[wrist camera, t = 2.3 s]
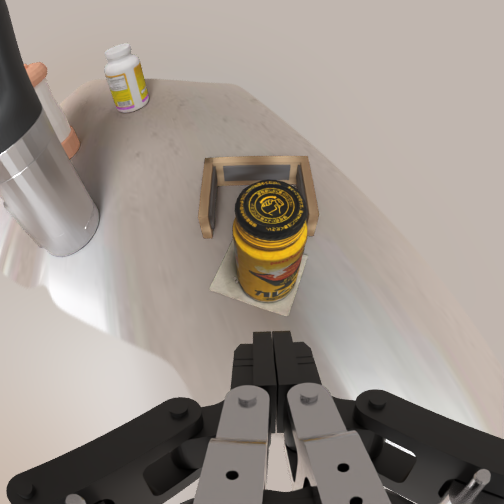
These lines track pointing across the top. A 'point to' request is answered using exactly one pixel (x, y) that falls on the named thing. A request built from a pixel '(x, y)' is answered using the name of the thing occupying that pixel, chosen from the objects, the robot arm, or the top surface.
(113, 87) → the supplement bottle
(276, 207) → the condiment
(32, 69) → the pepper shaker
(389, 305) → the top surface
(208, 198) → the light wood low tray
